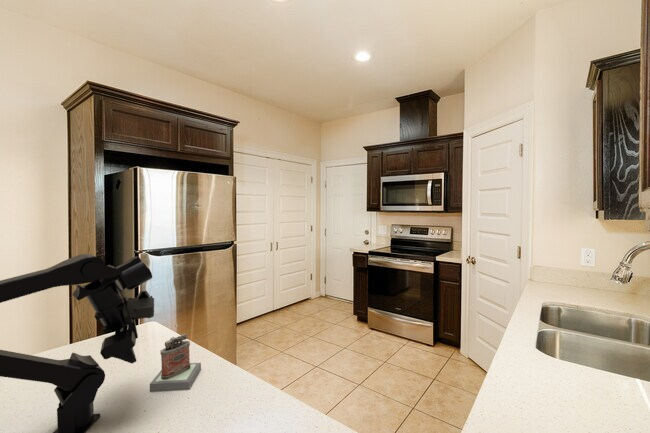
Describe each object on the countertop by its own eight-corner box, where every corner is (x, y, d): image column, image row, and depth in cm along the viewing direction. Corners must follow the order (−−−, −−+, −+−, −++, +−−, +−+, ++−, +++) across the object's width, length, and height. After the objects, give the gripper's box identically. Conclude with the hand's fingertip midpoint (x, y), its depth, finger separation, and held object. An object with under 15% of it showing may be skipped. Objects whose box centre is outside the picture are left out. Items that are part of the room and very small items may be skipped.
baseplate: (189, 389, 81) (188, 381, 81) (149, 391, 80) (149, 383, 80) (200, 369, 91) (200, 362, 91) (166, 371, 90) (165, 364, 90)
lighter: (165, 381, 81) (164, 344, 81) (158, 377, 83) (157, 341, 83) (192, 368, 88) (192, 333, 88) (186, 364, 90) (185, 331, 90)
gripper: (144, 309, 67) (170, 359, 74) (145, 271, 83) (166, 315, 89) (85, 332, 63) (118, 383, 70) (98, 288, 79) (124, 333, 85)
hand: (135, 349), depth 79 cm, fingers open, 9 cm apart
